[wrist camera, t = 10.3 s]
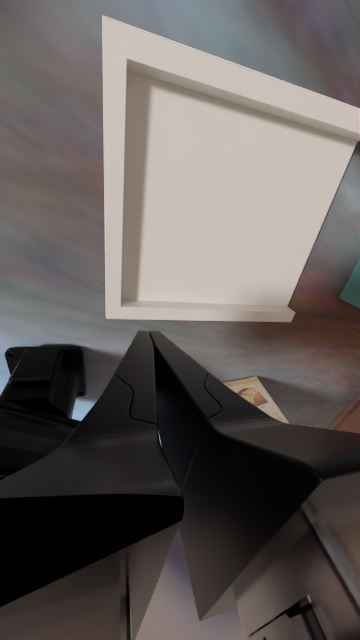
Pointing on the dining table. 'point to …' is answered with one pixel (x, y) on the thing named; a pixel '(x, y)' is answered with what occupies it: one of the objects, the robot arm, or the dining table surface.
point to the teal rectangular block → (352, 288)
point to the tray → (211, 181)
